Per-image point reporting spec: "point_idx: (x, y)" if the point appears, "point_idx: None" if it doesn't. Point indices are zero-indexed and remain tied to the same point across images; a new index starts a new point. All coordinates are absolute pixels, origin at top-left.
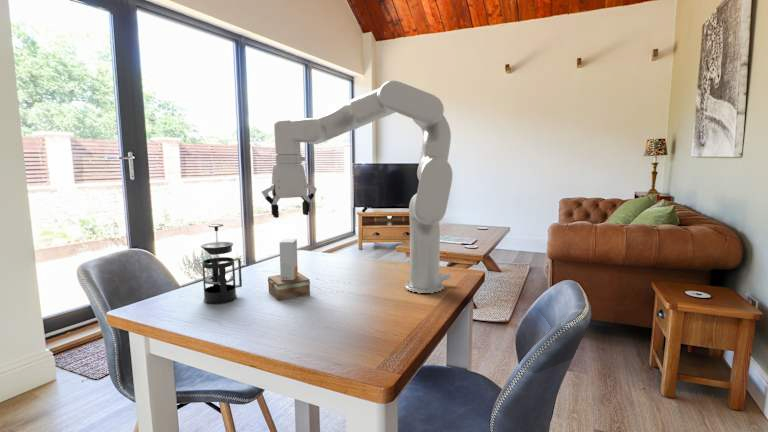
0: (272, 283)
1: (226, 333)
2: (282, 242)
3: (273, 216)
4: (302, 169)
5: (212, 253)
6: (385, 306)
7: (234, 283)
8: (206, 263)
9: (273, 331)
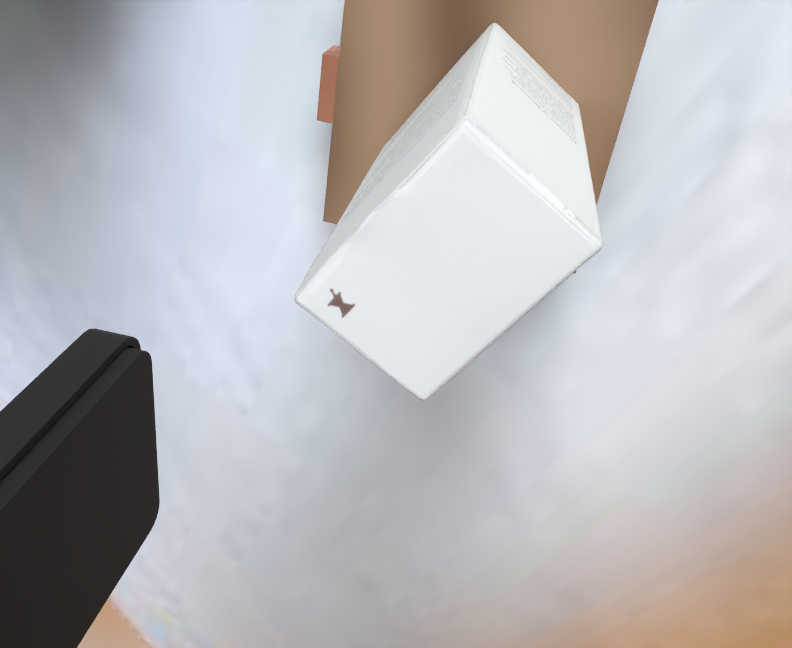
0: (323, 119)
1: (17, 388)
2: (322, 322)
3: (94, 336)
4: None
5: None
6: (719, 613)
7: None
8: None
9: (181, 488)
